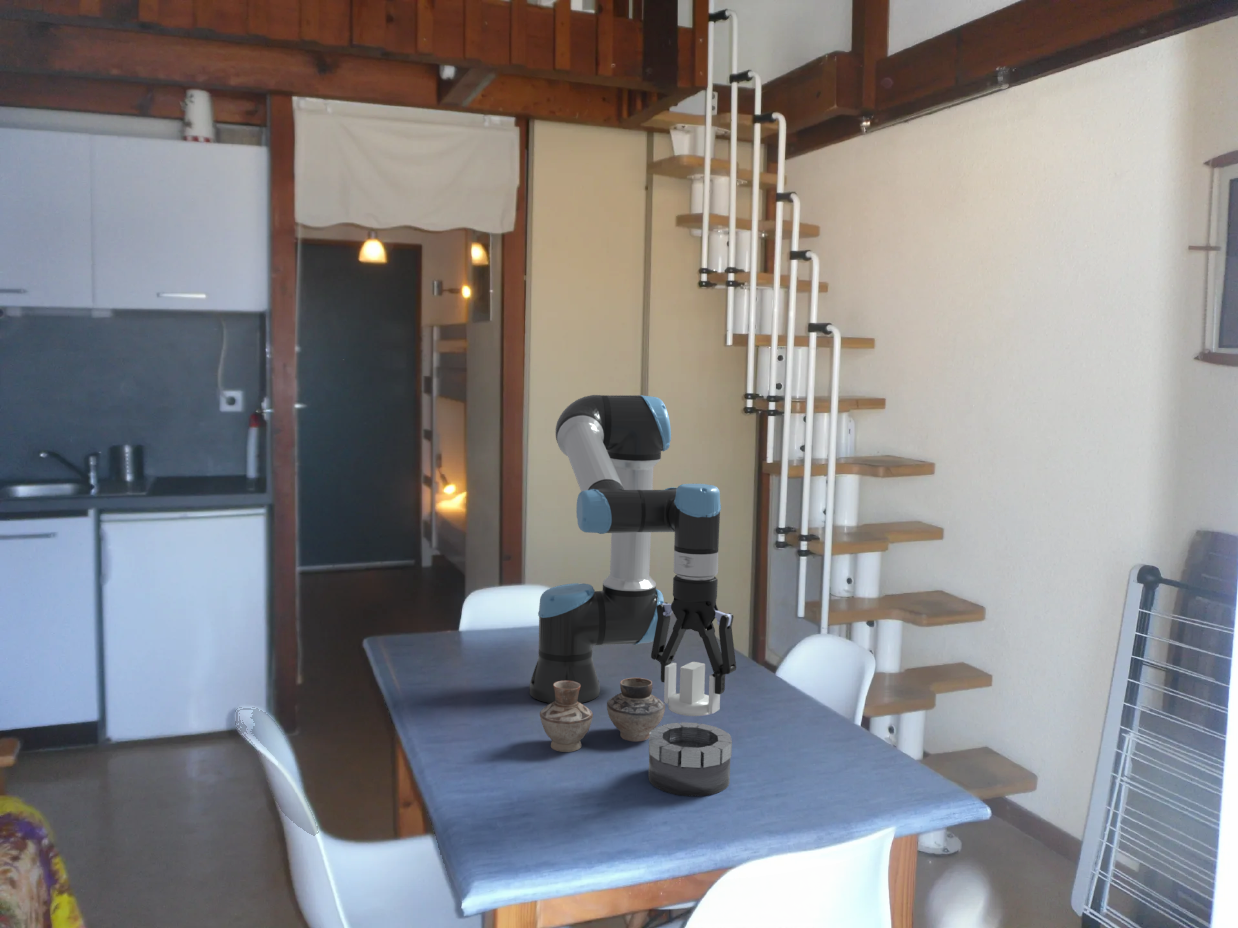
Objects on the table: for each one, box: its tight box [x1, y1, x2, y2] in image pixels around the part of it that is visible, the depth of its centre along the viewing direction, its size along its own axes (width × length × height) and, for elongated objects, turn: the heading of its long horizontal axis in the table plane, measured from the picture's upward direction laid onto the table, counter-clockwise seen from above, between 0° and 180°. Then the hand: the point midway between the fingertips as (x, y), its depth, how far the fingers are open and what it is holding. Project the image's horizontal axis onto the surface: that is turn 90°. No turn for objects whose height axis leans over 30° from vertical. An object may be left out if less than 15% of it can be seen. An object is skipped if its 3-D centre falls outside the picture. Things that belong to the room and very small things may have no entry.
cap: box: [667, 661, 711, 717], centre depth 171 cm, size 8×8×8 cm
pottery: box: [539, 677, 666, 753], centre depth 189 cm, size 11×25×12 cm, turn 116°
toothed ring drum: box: [648, 721, 733, 797], centre depth 173 cm, size 14×14×8 cm
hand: (691, 706), depth 172 cm, fingers closed on cap, 8 cm apart
